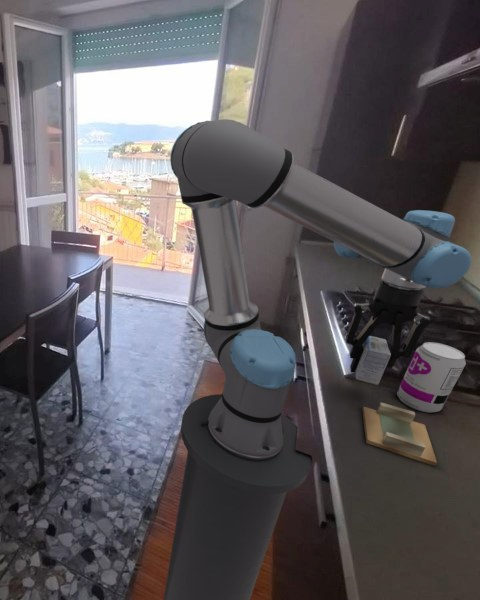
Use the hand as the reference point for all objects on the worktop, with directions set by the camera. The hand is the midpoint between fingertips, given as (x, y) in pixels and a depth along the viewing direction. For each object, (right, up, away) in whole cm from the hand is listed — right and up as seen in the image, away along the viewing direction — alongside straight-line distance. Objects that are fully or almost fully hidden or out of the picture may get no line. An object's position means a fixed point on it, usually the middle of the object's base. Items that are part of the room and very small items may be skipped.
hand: (365, 372), depth 86 cm
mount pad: (-1, -12, -9) cm, 15 cm away
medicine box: (0, 0, 0) cm, 0 cm away
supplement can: (+13, -7, 0) cm, 15 cm away
